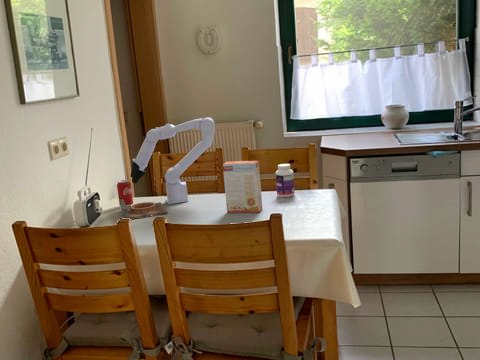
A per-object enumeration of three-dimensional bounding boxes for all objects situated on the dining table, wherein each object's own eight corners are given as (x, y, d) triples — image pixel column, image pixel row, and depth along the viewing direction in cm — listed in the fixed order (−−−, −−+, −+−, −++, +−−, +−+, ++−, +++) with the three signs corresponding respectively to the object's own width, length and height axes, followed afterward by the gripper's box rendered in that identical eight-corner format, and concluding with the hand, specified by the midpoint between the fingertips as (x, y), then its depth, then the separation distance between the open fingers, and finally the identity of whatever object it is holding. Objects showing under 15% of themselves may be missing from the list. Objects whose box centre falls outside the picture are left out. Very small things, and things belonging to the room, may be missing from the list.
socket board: (160, 204, 233) (159, 193, 232) (167, 213, 217) (166, 202, 216) (121, 210, 228) (119, 199, 227) (125, 220, 212) (123, 209, 210)
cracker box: (262, 209, 211) (259, 160, 207) (258, 213, 206) (254, 162, 202) (231, 208, 216) (227, 160, 212) (226, 212, 211) (222, 163, 206)
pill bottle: (274, 195, 233) (272, 164, 230) (291, 192, 235) (289, 162, 232) (280, 199, 225) (278, 167, 222) (297, 196, 227) (295, 165, 224)
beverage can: (130, 207, 232) (126, 182, 230) (117, 208, 233) (114, 182, 231) (135, 204, 238) (132, 179, 236) (123, 204, 239) (119, 179, 237)
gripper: (135, 146, 236) (123, 172, 239) (138, 154, 223) (126, 181, 225) (149, 151, 239) (137, 177, 241) (153, 160, 226) (140, 187, 228)
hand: (133, 179), depth 234 cm, fingers open, 7 cm apart
